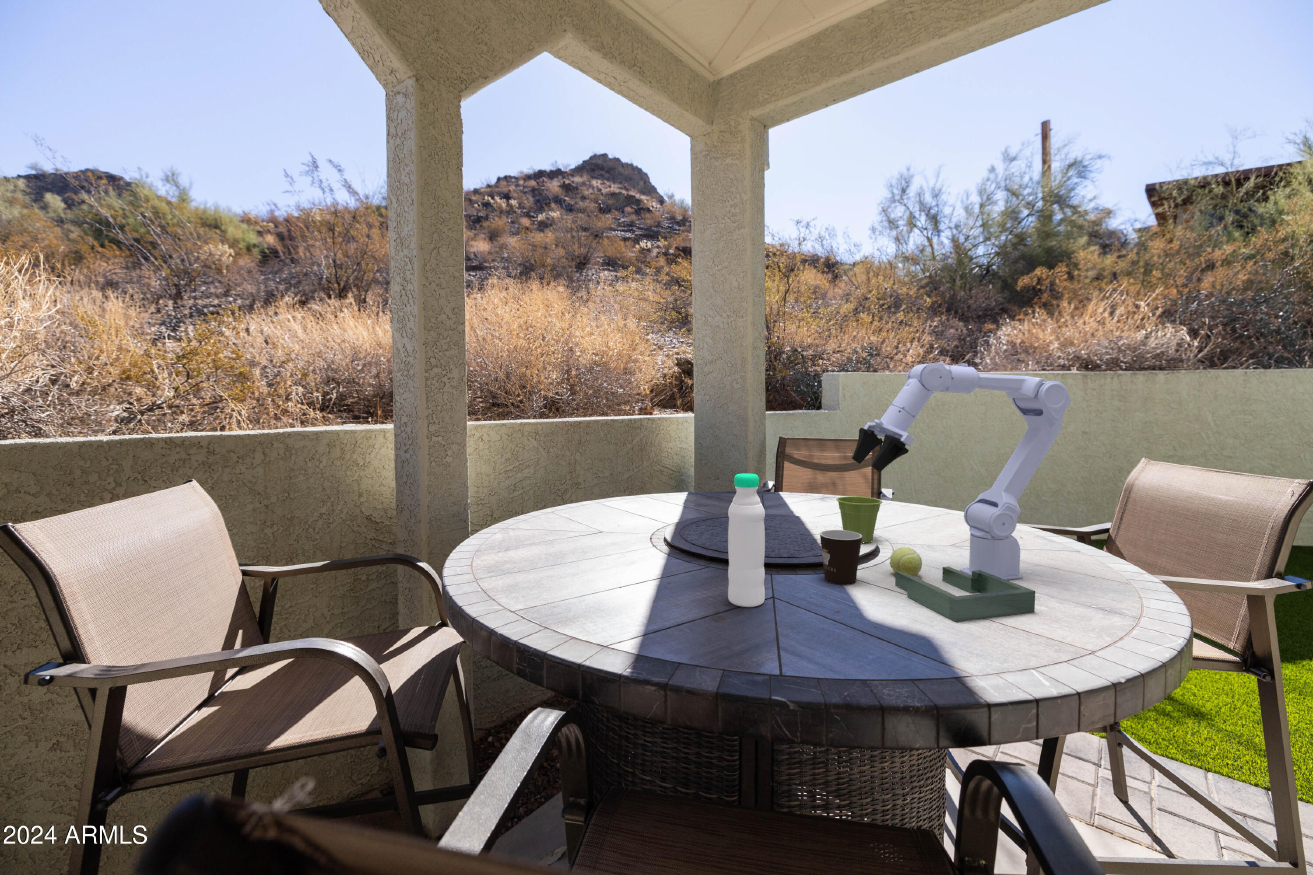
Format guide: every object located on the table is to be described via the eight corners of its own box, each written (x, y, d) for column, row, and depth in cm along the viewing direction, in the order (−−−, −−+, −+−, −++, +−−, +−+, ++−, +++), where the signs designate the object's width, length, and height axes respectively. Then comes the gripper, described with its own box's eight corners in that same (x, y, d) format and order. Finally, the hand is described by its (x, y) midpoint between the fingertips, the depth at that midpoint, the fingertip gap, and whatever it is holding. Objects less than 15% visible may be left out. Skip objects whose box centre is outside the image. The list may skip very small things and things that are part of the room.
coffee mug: (864, 587, 121) (864, 540, 120) (820, 585, 122) (821, 538, 122) (856, 570, 132) (857, 527, 131) (817, 568, 134) (817, 526, 133)
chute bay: (956, 579, 126) (956, 561, 125) (1034, 612, 107) (1035, 590, 106) (886, 586, 122) (887, 567, 121) (955, 621, 103) (955, 599, 102)
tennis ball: (926, 549, 125) (910, 540, 132) (896, 554, 125) (882, 546, 131) (929, 577, 126) (913, 568, 133) (900, 583, 125) (885, 573, 132)
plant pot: (888, 546, 153) (889, 503, 152) (843, 546, 153) (843, 504, 152) (872, 535, 164) (873, 495, 164) (830, 535, 165) (830, 495, 164)
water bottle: (767, 597, 116) (767, 472, 114) (761, 609, 109) (762, 477, 107) (732, 593, 118) (732, 471, 116) (724, 605, 112) (724, 476, 110)
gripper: (870, 398, 130) (834, 448, 130) (911, 406, 116) (871, 462, 116) (891, 415, 132) (857, 464, 132) (934, 426, 118) (895, 481, 118)
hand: (865, 465), depth 125 cm, fingers open, 7 cm apart
